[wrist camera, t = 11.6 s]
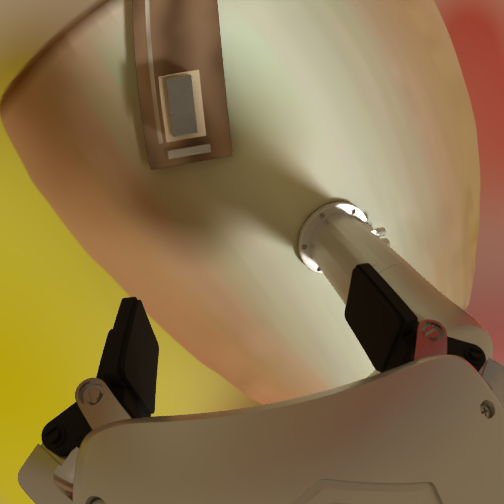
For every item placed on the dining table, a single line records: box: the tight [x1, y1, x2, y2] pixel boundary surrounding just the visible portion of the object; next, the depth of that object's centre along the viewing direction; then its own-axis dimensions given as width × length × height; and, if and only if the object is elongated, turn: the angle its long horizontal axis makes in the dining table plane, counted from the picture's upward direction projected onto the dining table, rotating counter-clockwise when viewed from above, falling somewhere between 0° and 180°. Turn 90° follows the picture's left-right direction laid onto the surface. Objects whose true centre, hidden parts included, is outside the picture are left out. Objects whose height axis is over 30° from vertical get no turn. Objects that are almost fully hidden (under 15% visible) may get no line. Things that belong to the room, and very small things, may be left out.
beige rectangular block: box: [158, 70, 206, 142], centre depth 25 cm, size 4×7×6 cm, turn 5°
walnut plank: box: [132, 0, 232, 170], centre depth 23 cm, size 10×30×3 cm, turn 5°
